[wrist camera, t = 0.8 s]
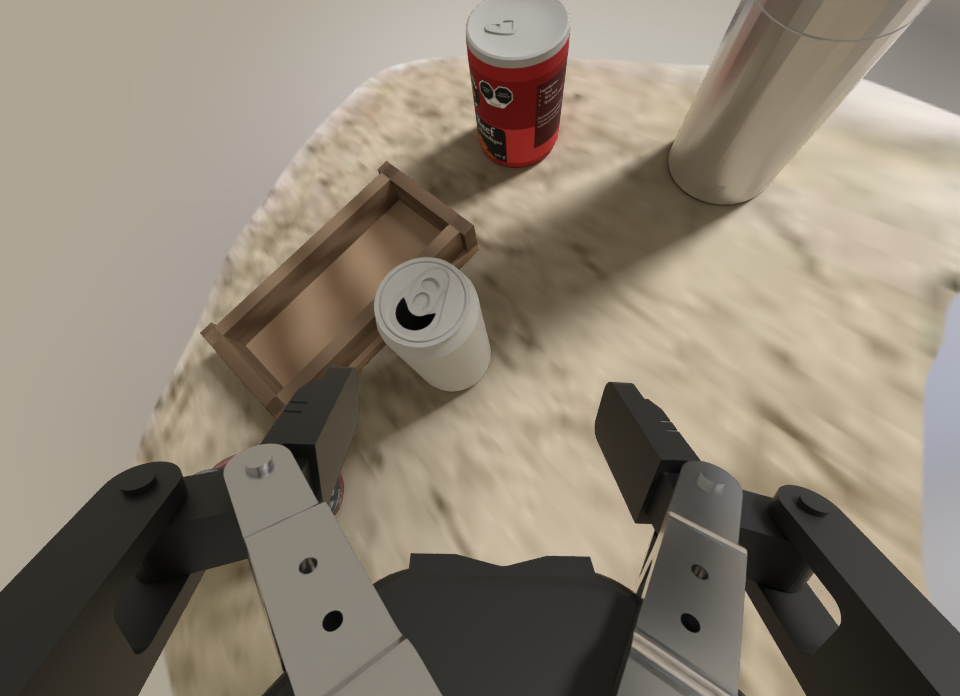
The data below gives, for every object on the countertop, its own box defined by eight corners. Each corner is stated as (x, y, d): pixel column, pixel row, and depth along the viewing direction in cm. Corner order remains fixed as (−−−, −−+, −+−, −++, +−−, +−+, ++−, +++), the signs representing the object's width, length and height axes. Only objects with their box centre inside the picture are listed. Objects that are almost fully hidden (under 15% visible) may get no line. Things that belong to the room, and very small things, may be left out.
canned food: (473, 119, 41) (457, 0, 30) (548, 102, 41) (557, -24, 30) (486, 177, 39) (473, 70, 28) (565, 160, 38) (582, 45, 28)
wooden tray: (398, 189, 39) (386, 161, 36) (478, 249, 36) (473, 225, 33) (232, 346, 36) (199, 332, 32) (304, 426, 33) (278, 422, 29)
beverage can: (405, 371, 34) (345, 323, 22) (442, 310, 35) (404, 234, 23) (468, 406, 32) (439, 373, 21) (505, 341, 33) (496, 276, 22)
